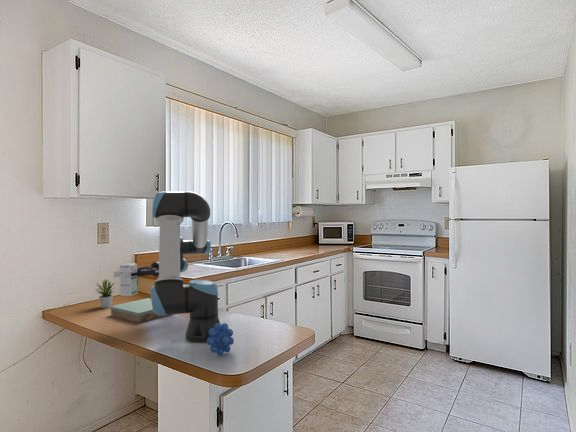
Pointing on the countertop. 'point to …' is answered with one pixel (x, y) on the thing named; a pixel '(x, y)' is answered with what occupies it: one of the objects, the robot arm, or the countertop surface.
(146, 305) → the lid
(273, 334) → the countertop surface
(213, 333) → the grapes
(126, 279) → the syrup box
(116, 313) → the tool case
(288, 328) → the countertop surface
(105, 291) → the house plant
